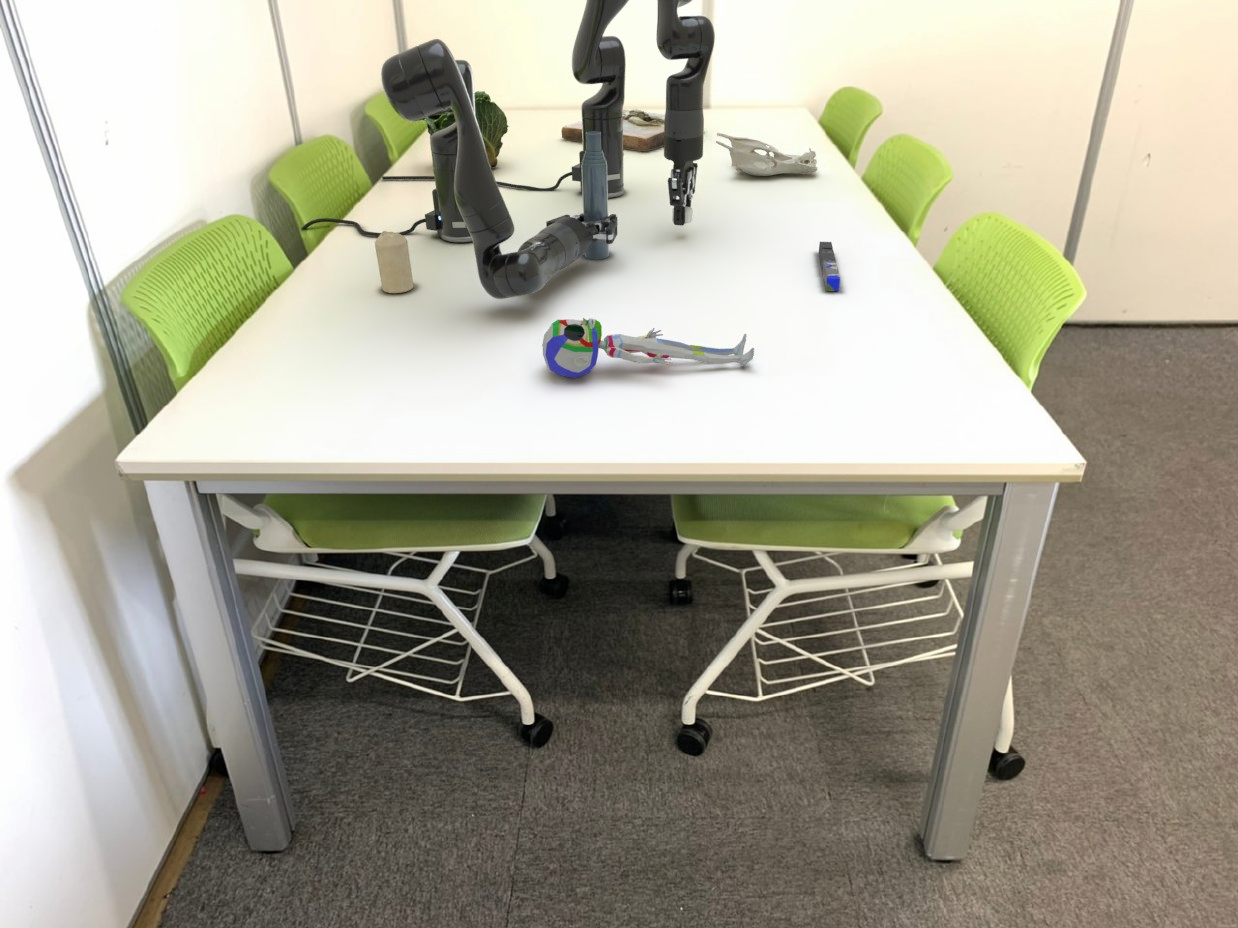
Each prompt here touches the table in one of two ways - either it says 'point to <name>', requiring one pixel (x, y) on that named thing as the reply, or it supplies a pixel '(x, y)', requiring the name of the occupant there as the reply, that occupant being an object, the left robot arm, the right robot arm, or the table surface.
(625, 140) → the plaque
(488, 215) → the left robot arm
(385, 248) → the candle
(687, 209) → the cap
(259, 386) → the table surface
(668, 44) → the right robot arm
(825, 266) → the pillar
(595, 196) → the bottle
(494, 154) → the vegetable
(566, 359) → the toy
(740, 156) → the anatomical model
